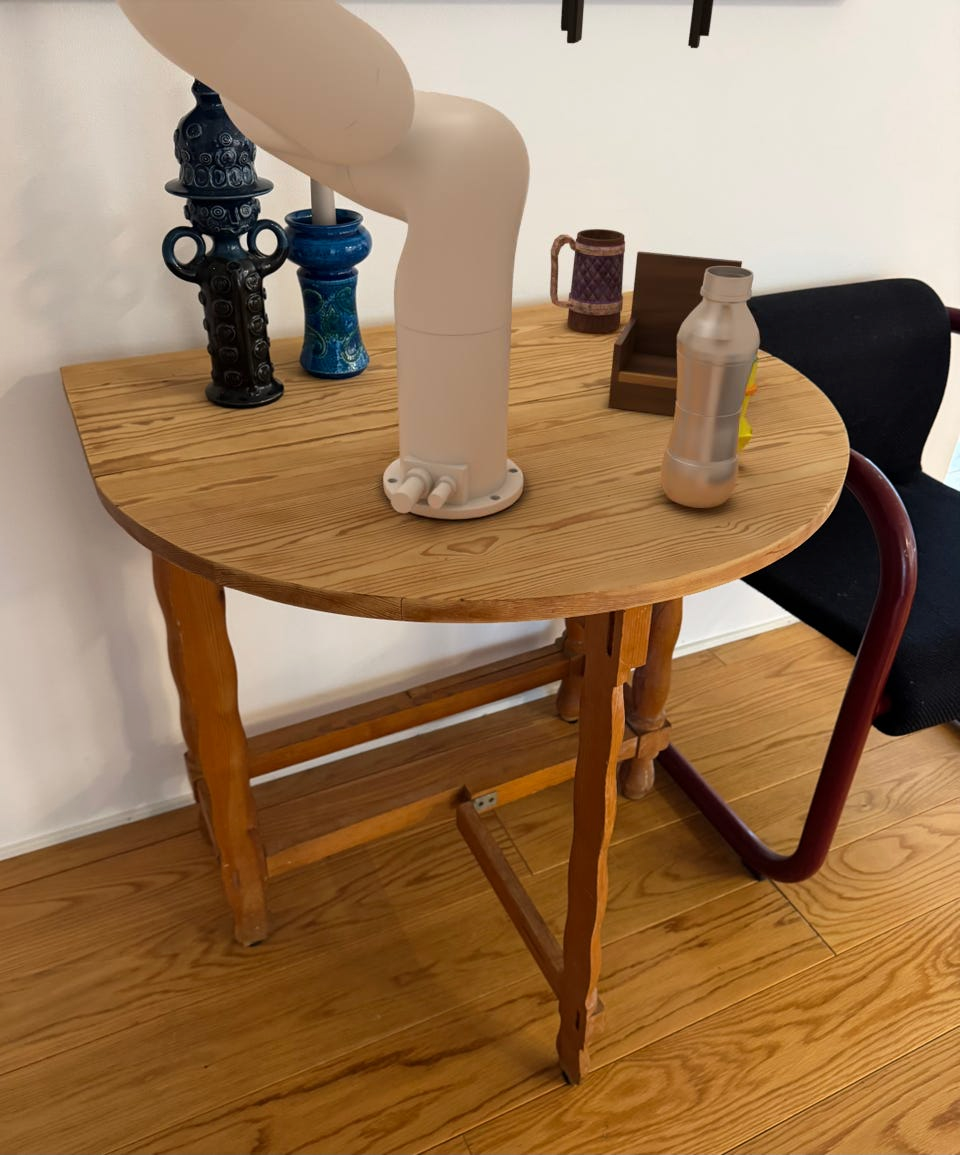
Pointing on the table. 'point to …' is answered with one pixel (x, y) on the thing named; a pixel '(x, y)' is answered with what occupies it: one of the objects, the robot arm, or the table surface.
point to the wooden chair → (656, 330)
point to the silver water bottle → (711, 390)
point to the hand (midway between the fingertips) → (633, 44)
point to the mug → (592, 280)
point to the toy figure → (744, 427)
